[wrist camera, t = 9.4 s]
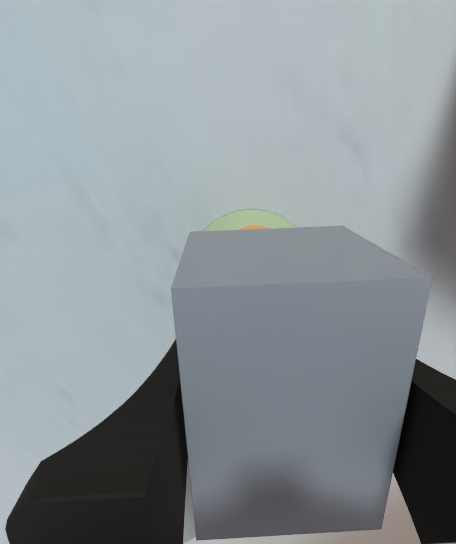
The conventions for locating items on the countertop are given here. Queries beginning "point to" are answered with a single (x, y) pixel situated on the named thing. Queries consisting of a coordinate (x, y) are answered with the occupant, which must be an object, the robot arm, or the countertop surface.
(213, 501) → the tall grey box
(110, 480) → the robot arm
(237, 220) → the pale green flat disc
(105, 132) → the countertop surface
